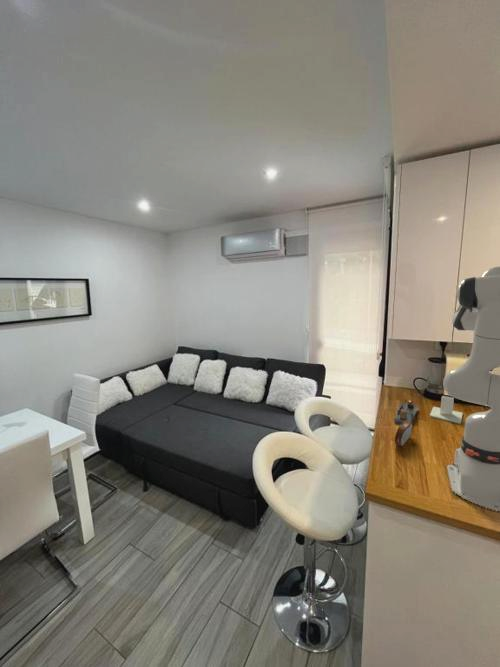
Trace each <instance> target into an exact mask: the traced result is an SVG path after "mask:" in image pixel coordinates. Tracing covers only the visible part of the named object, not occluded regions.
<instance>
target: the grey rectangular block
mask: <svg viewBox="0 0 500 667" xmlns="http://www.w3.org/2000/svg"><path fill="white" fill-rule="evenodd" d="M440 398H441V399H440V407H439V408H440V414H442V415H446V416H450V417H452V413H453V411H454V399H455V398H454V397H452V396H445V395H442V396H441V397H440Z"/></svg>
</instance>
